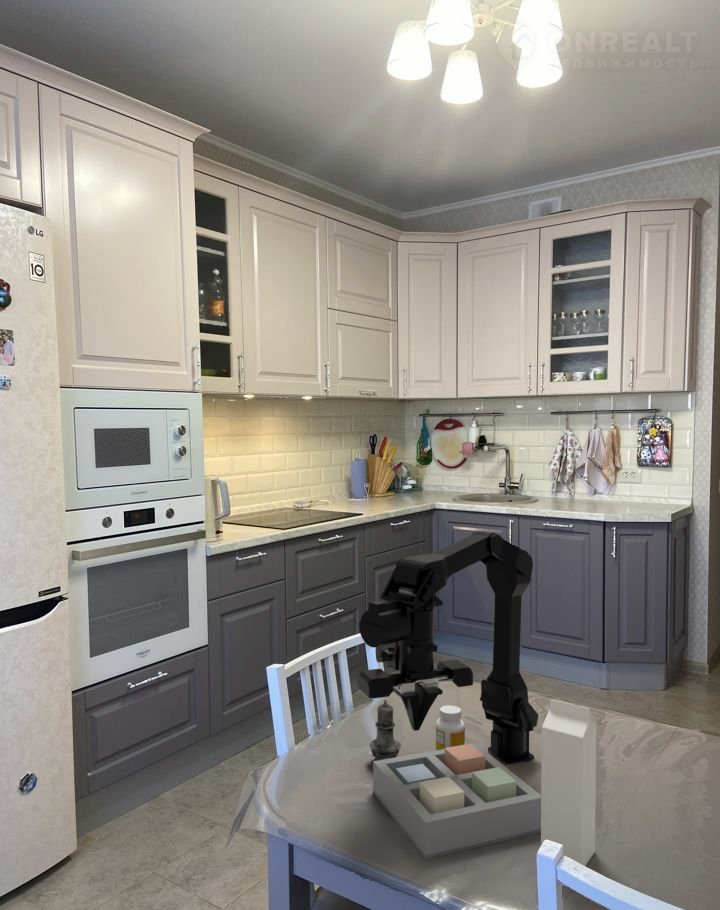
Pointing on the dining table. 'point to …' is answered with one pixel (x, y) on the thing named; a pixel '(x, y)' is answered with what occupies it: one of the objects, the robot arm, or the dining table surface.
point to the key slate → (414, 774)
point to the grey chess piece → (384, 735)
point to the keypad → (459, 825)
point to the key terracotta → (464, 759)
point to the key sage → (493, 785)
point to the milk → (569, 779)
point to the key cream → (441, 795)
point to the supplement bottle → (449, 728)
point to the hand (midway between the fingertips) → (415, 729)
